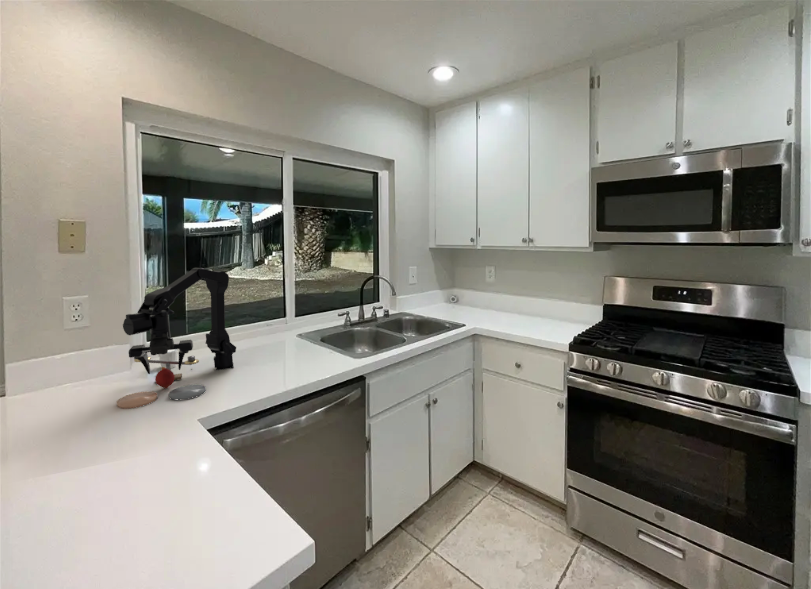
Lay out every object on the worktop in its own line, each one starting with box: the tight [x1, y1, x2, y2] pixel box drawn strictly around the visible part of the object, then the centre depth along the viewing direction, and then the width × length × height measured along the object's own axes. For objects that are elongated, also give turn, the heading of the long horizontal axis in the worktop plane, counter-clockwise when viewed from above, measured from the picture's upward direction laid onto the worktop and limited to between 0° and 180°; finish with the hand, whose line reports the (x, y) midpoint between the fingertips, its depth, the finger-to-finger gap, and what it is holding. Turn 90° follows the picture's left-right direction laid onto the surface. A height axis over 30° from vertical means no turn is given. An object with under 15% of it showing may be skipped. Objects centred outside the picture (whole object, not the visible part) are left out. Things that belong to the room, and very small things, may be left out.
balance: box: [133, 355, 200, 381], centre depth 147 cm, size 21×5×9 cm, turn 114°
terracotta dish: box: [116, 390, 158, 410], centre depth 128 cm, size 11×11×1 cm
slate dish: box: [168, 383, 207, 401], centre depth 134 cm, size 11×11×1 cm
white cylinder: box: [158, 349, 178, 369], centre depth 162 cm, size 7×7×7 cm
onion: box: [154, 367, 175, 390], centre depth 139 cm, size 6×6×8 cm
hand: (164, 371), depth 139 cm, fingers open, 9 cm apart
